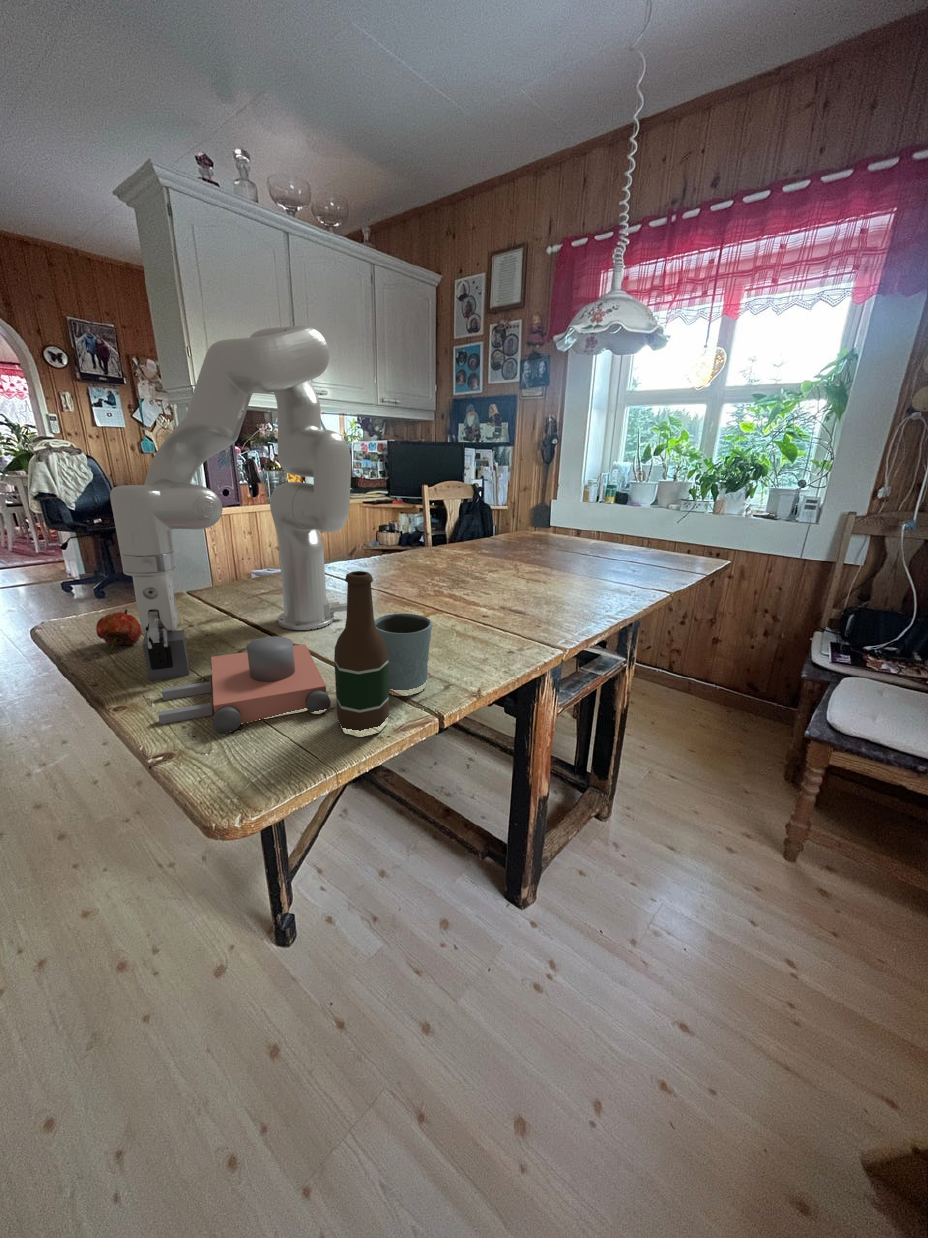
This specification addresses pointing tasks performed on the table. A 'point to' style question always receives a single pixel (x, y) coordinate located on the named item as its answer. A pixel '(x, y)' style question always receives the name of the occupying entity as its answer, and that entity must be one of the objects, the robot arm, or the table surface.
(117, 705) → the table surface
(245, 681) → the toy tractor cart
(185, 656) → the dark grey rounded cube
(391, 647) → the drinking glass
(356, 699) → the beer bottle
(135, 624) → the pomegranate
